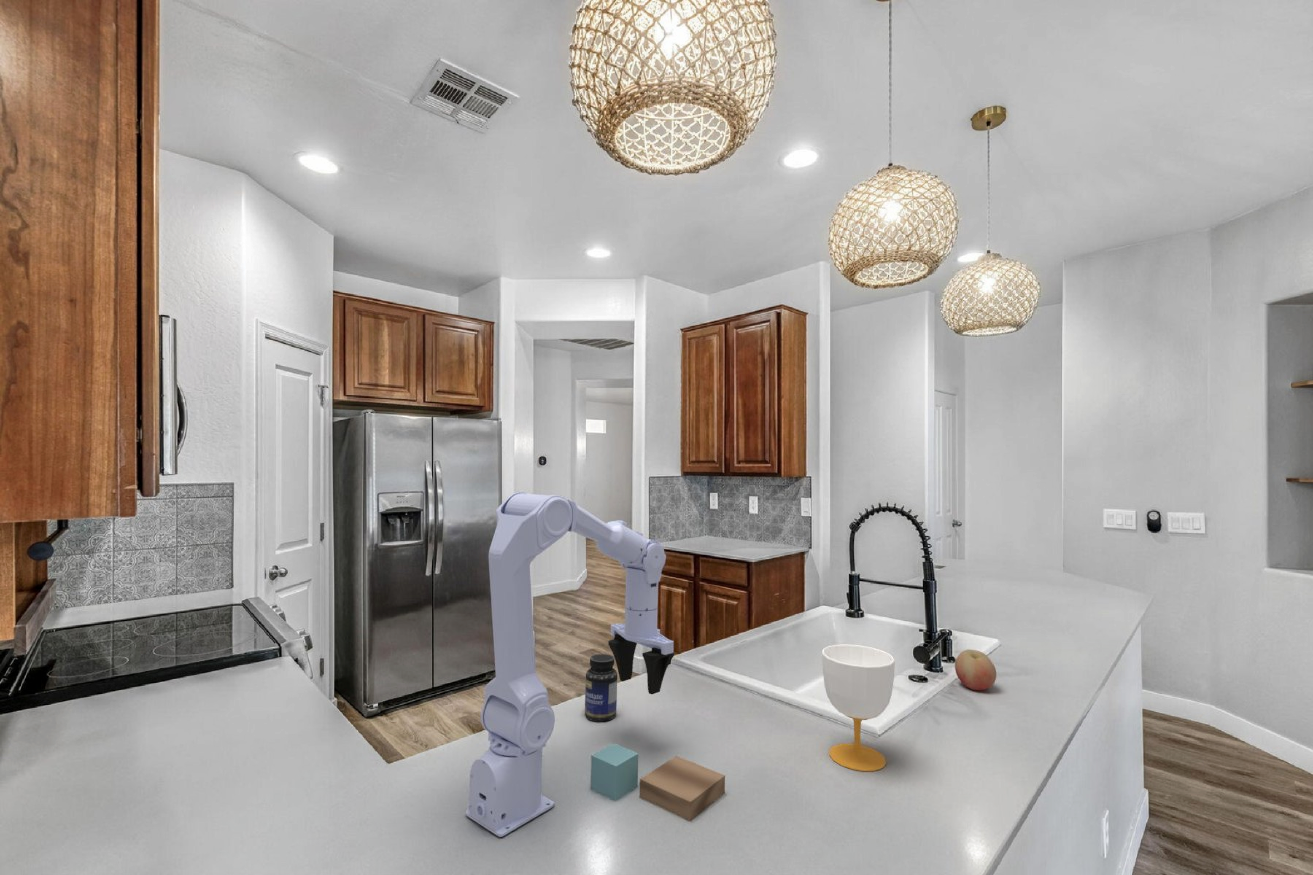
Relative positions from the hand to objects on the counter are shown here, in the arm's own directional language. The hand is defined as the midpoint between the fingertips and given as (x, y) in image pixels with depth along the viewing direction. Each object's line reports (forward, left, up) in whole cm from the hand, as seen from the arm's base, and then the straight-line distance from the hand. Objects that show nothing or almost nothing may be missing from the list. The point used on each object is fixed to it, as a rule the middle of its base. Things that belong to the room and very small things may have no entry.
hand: (639, 685), depth 103 cm
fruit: (+69, -40, -10) cm, 80 cm away
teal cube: (-13, -6, -10) cm, 18 cm away
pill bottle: (+4, +13, -10) cm, 17 cm away
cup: (+20, -31, -10) cm, 38 cm away
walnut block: (-8, -15, -10) cm, 20 cm away
